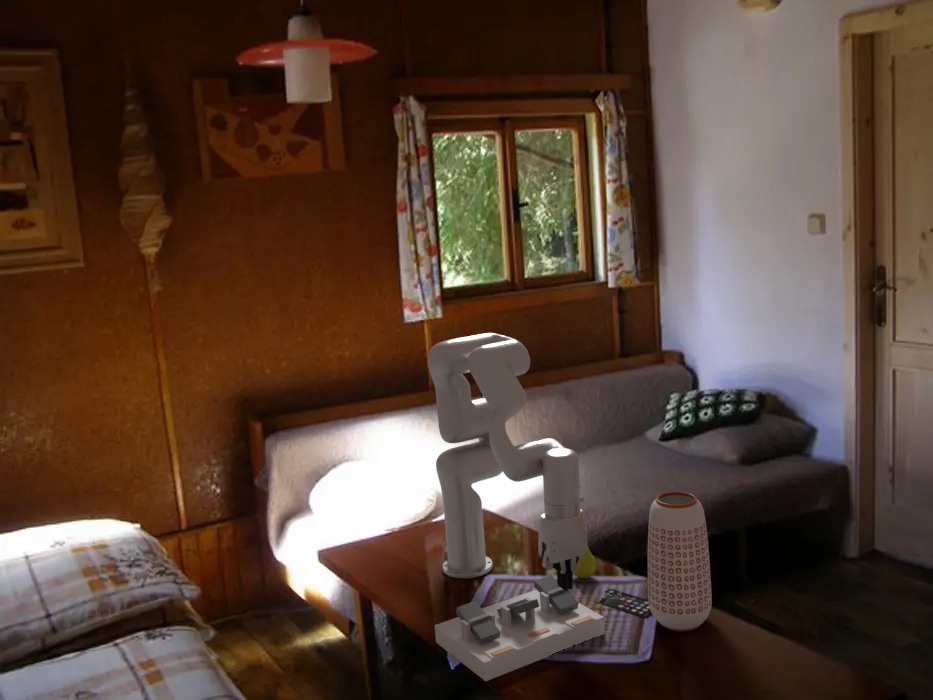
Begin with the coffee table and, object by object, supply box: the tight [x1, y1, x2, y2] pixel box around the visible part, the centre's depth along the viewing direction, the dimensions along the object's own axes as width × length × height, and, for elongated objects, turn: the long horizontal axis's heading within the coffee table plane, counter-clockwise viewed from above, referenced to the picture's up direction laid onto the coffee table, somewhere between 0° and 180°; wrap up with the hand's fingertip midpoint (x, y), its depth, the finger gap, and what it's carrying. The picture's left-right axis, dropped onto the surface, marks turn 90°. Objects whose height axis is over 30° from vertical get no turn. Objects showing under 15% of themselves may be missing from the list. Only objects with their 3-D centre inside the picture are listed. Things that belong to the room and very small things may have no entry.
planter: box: [647, 491, 713, 632], centre depth 210 cm, size 13×13×28 cm
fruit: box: [573, 545, 597, 579], centre depth 237 cm, size 6×6×12 cm
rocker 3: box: [533, 574, 580, 615], centre depth 215 cm, size 10×5×2 cm, turn 32°
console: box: [434, 589, 606, 682], centre depth 210 cm, size 20×30×8 cm, turn 121°
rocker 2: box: [497, 599, 539, 617], centre depth 210 cm, size 10×5×2 cm, turn 30°
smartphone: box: [598, 588, 653, 619], centre depth 223 cm, size 7×1×15 cm
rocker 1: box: [455, 600, 501, 644], centre depth 205 cm, size 10×5×2 cm, turn 32°
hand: (565, 587), depth 211 cm, fingers closed
